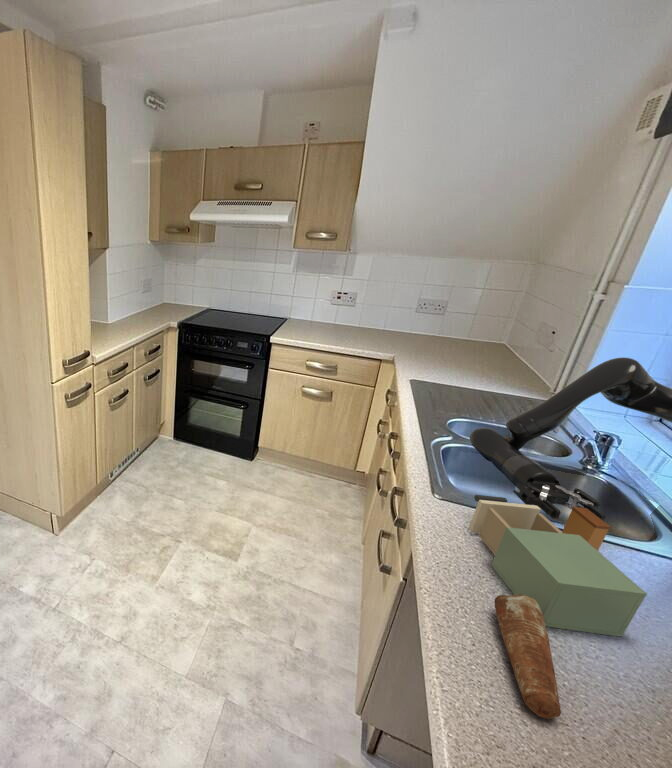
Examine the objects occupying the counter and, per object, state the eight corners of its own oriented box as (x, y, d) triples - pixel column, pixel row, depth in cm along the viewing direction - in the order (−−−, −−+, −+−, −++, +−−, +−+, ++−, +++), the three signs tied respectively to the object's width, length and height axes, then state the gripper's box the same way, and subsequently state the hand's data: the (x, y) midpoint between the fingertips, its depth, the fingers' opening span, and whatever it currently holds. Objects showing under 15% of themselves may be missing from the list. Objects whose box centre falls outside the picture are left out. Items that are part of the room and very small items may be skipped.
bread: (534, 625, 71) (546, 600, 69) (562, 732, 55) (578, 705, 53) (489, 607, 74) (499, 584, 72) (503, 705, 58) (517, 678, 56)
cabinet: (491, 565, 83) (506, 527, 80) (560, 574, 81) (579, 535, 78) (538, 625, 70) (558, 582, 67) (622, 637, 69) (647, 593, 65)
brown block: (572, 537, 91) (586, 507, 88) (595, 558, 86) (610, 526, 83) (559, 536, 92) (572, 506, 89) (581, 556, 86) (596, 525, 83)
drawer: (455, 512, 97) (465, 484, 94) (508, 518, 96) (520, 490, 93) (503, 571, 80) (516, 539, 78) (568, 579, 79) (584, 547, 76)
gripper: (502, 460, 103) (549, 499, 88) (565, 466, 101) (624, 507, 86) (492, 485, 106) (537, 528, 91) (554, 491, 104) (610, 536, 89)
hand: (579, 517), depth 88 cm, fingers open, 8 cm apart
